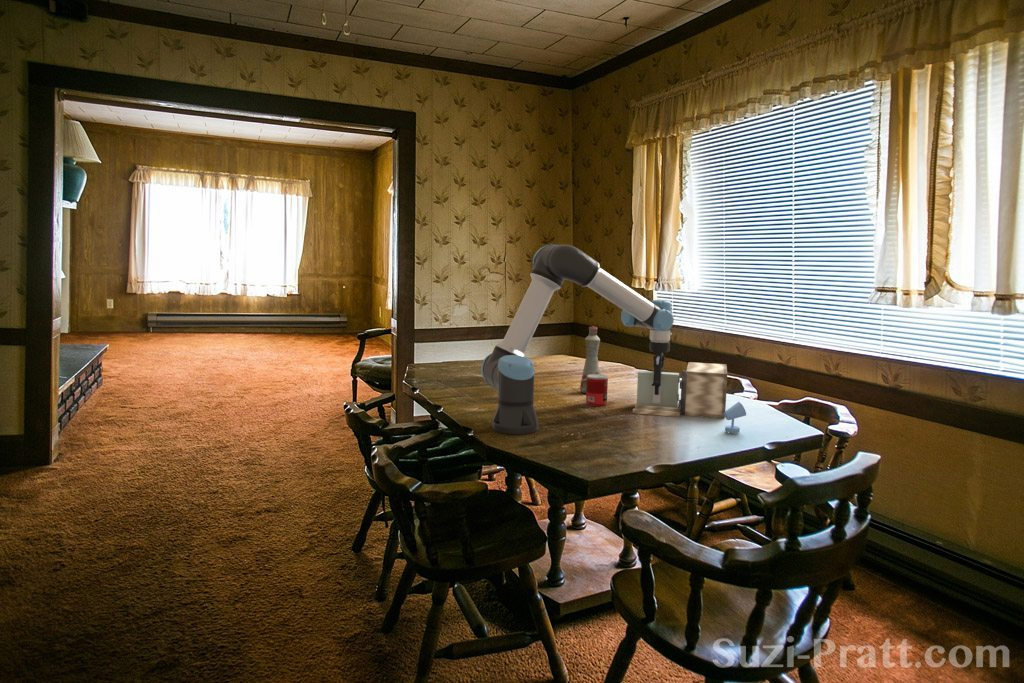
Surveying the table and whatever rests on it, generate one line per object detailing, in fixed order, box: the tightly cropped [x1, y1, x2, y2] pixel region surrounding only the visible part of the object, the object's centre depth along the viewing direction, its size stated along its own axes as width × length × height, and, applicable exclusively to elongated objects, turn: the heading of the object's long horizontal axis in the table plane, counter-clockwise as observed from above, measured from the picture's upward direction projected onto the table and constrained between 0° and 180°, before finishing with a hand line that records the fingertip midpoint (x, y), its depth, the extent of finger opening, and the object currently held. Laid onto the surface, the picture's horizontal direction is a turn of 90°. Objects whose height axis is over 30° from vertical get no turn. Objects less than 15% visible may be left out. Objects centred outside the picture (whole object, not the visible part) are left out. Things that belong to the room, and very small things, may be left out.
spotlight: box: [724, 401, 747, 434], centre depth 215 cm, size 5×10×7 cm
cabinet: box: [632, 361, 728, 419], centre depth 246 cm, size 32×25×16 cm
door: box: [636, 370, 681, 408], centre depth 251 cm, size 15×4×13 cm, turn 73°
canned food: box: [585, 374, 609, 407], centre depth 253 cm, size 8×8×11 cm
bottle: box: [579, 325, 601, 395], centre depth 273 cm, size 9×9×28 cm
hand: (657, 400), depth 251 cm, fingers open, 8 cm apart
